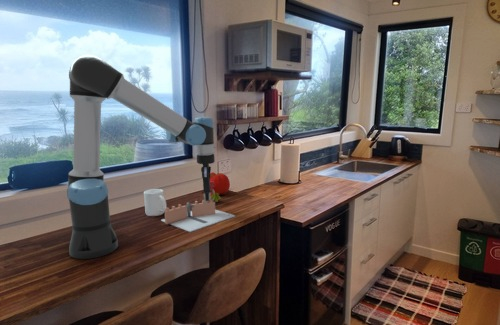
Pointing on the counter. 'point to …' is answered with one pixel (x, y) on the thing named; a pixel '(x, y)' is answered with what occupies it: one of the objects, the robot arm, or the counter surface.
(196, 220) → the card
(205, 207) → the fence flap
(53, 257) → the counter surface
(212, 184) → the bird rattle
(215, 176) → the tomato
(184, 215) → the fence fixed
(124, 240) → the counter surface
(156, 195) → the mug
